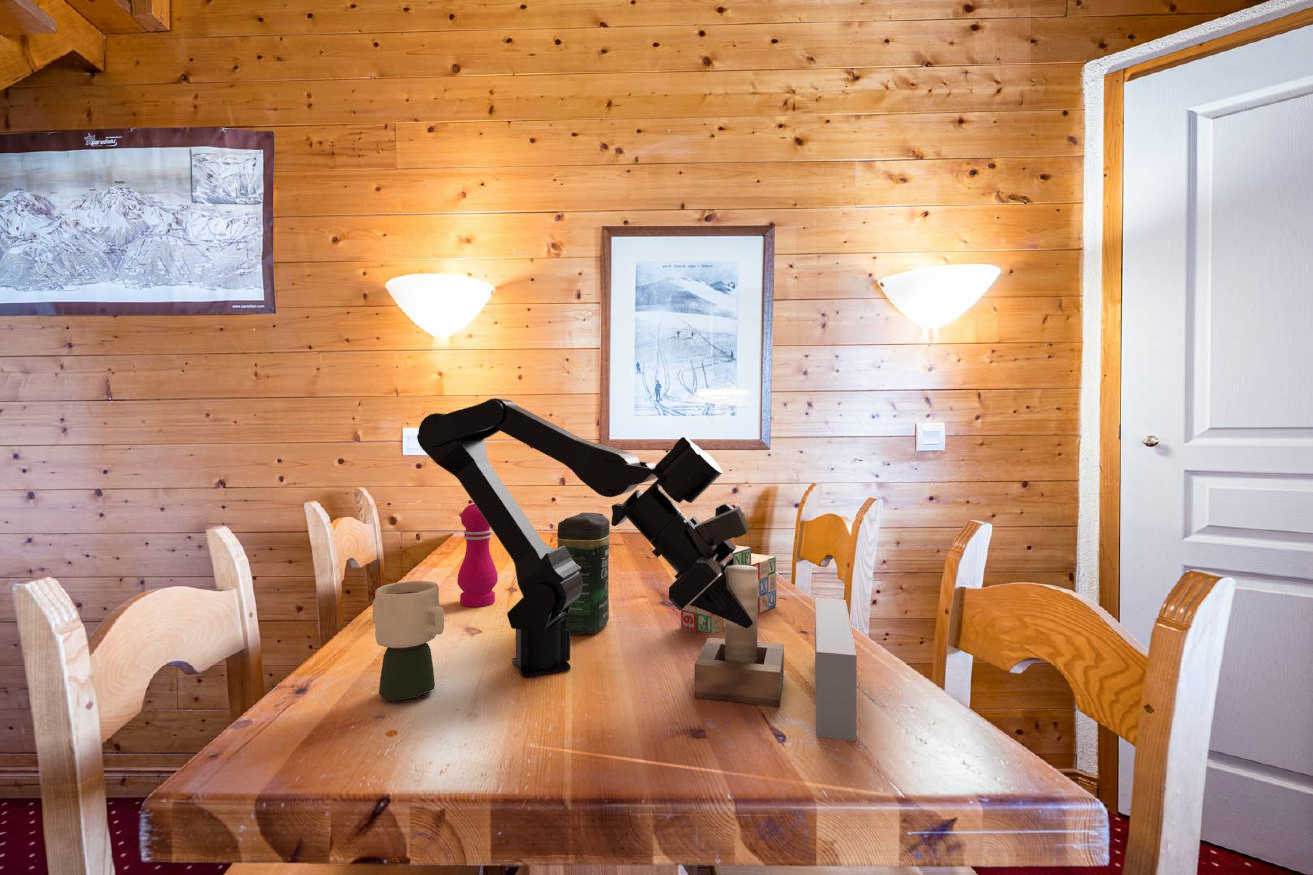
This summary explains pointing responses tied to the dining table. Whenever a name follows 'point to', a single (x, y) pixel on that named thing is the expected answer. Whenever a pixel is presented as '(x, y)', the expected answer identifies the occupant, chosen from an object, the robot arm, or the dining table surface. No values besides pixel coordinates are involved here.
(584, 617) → the coffee jar
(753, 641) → the dowel
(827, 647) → the board
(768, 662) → the socket block
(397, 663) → the character mug
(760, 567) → the stack of blocks
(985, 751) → the dining table surface
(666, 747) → the dining table surface
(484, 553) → the pepper mill
